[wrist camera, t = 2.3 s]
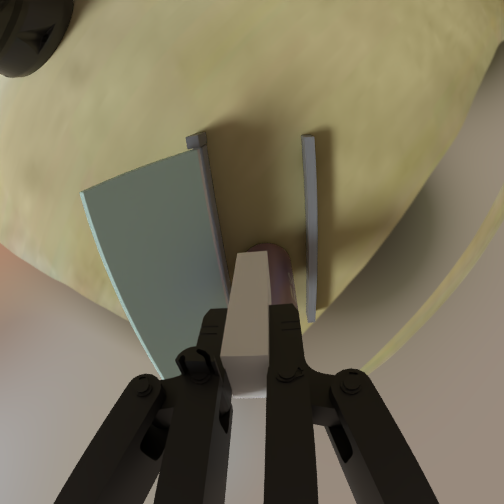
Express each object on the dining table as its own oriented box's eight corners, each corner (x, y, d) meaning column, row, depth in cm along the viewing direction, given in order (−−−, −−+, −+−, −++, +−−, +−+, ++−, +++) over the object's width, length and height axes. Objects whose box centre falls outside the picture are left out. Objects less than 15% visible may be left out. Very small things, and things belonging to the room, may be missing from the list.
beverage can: (236, 247, 33) (219, 341, 20) (284, 235, 32) (296, 327, 19) (250, 285, 36) (243, 381, 23) (294, 275, 35) (308, 371, 22)
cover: (201, 148, 24) (194, 148, 25) (83, 192, 16) (78, 192, 16) (235, 330, 36) (230, 328, 37) (175, 395, 27) (169, 392, 28)
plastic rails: (194, 133, 26) (185, 137, 23) (309, 122, 25) (316, 123, 22) (231, 323, 39) (228, 341, 36) (312, 318, 38) (315, 336, 35)
